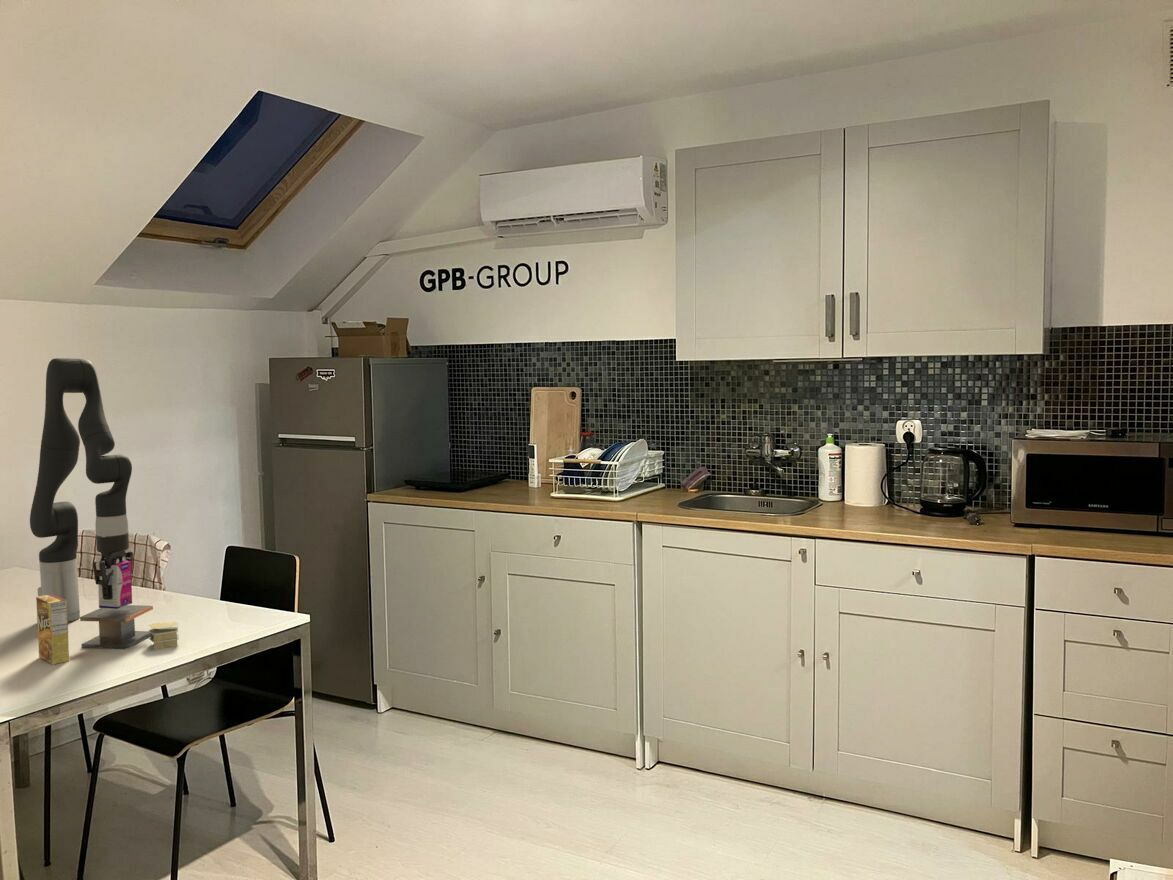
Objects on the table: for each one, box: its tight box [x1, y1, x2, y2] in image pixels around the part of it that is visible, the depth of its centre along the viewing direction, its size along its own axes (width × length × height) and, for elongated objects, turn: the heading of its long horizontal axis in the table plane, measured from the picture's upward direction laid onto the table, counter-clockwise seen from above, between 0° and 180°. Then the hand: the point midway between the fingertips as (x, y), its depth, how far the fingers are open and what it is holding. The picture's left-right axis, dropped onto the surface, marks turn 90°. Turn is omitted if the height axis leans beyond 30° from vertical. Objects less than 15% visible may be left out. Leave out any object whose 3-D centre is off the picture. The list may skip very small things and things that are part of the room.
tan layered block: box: [148, 621, 179, 649], centre depth 243 cm, size 10×9×6 cm
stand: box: [79, 604, 154, 650], centre depth 246 cm, size 12×12×8 cm
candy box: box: [35, 594, 70, 666], centre depth 231 cm, size 9×4×15 cm, turn 50°
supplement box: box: [97, 561, 133, 609], centre depth 245 cm, size 6×6×12 cm
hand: (115, 595), depth 245 cm, fingers closed on supplement box, 6 cm apart
